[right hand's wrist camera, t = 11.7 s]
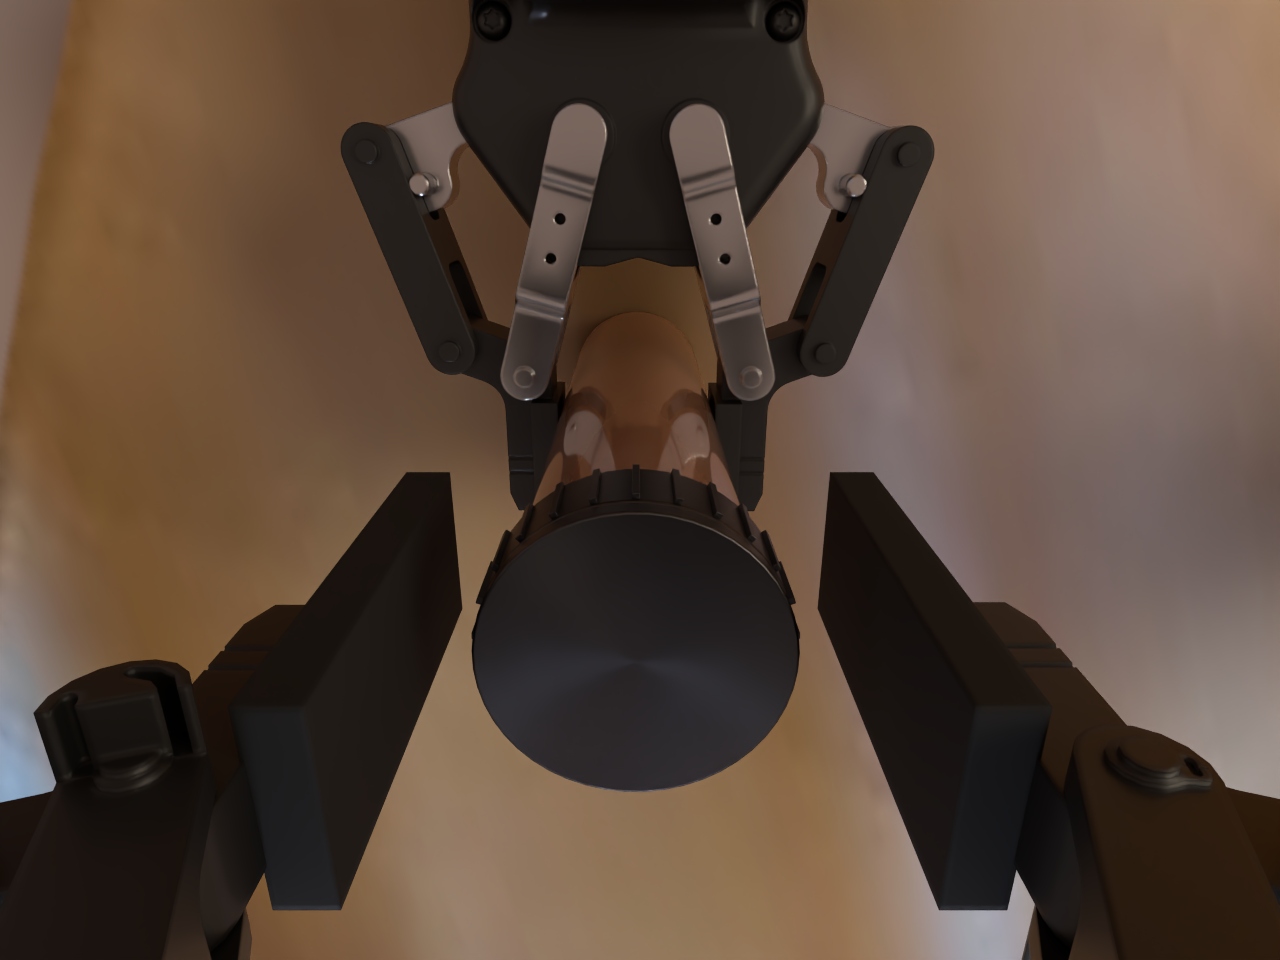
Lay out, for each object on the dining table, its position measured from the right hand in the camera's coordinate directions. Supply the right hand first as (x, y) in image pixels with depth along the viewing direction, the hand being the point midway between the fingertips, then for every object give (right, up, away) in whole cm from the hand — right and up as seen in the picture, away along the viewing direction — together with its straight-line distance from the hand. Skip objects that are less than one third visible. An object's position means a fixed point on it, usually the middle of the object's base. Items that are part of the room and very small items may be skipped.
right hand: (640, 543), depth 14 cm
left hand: (0, 0, +8) cm, 8 cm away
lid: (0, -1, -3) cm, 3 cm away
